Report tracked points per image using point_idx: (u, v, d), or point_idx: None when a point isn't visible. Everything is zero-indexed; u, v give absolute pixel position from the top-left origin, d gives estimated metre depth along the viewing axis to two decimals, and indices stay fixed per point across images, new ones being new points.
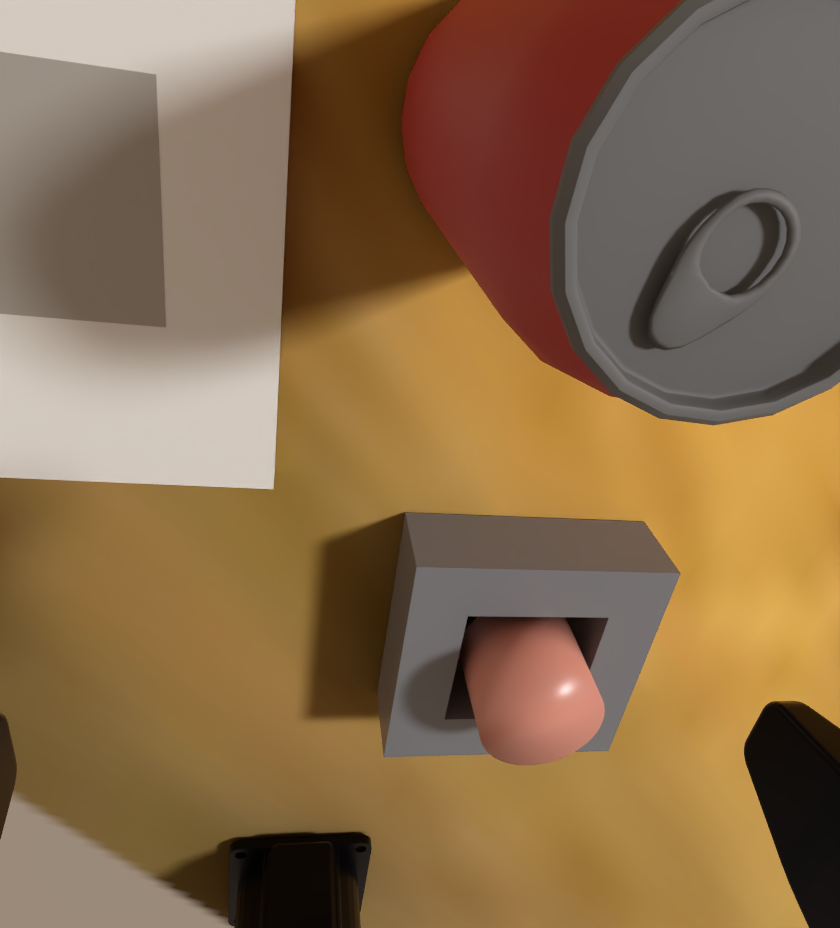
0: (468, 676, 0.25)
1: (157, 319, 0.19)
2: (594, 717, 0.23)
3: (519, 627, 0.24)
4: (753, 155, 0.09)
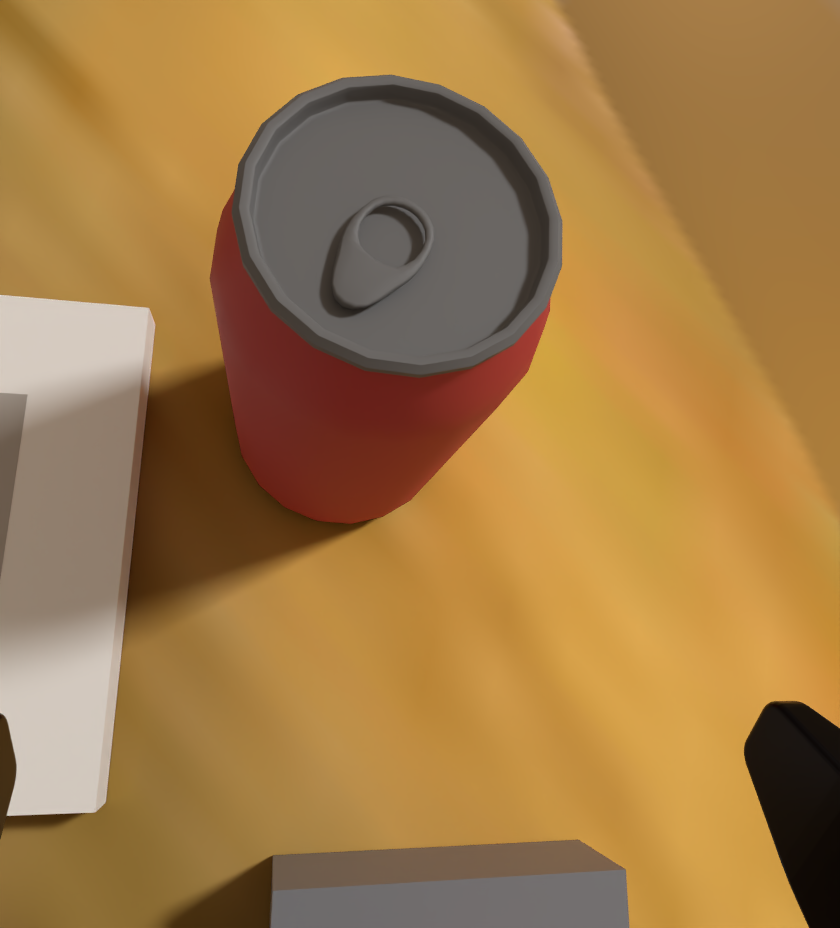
0: None
1: None
2: None
3: None
4: (380, 185, 0.12)
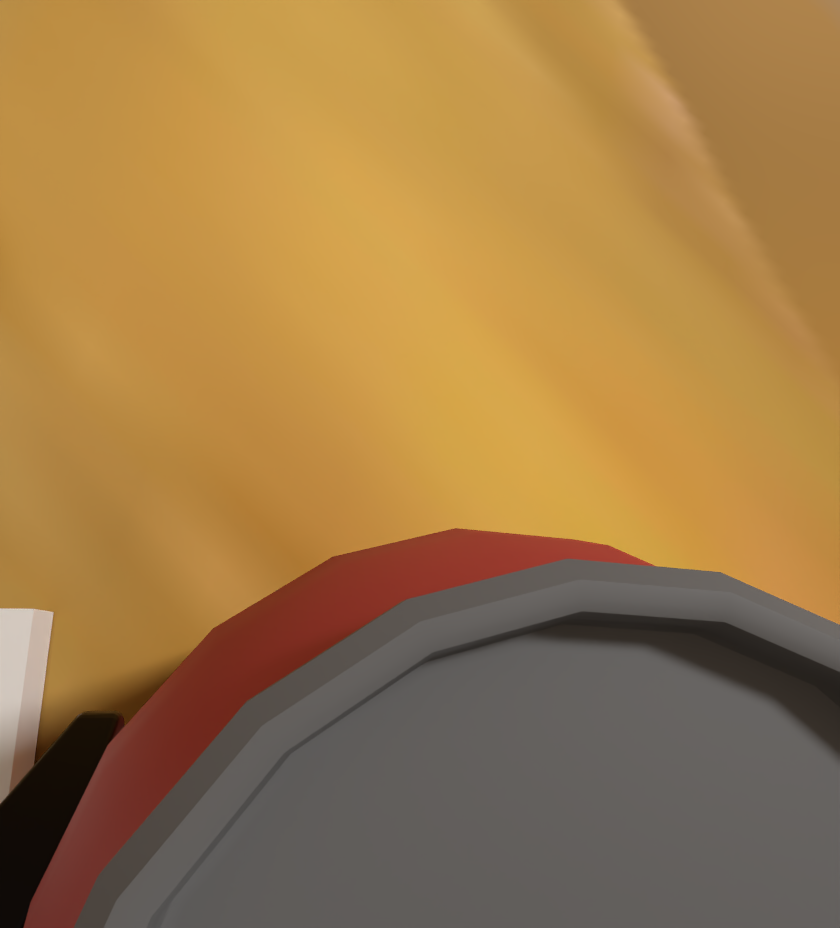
0: None
1: None
2: None
3: None
4: None
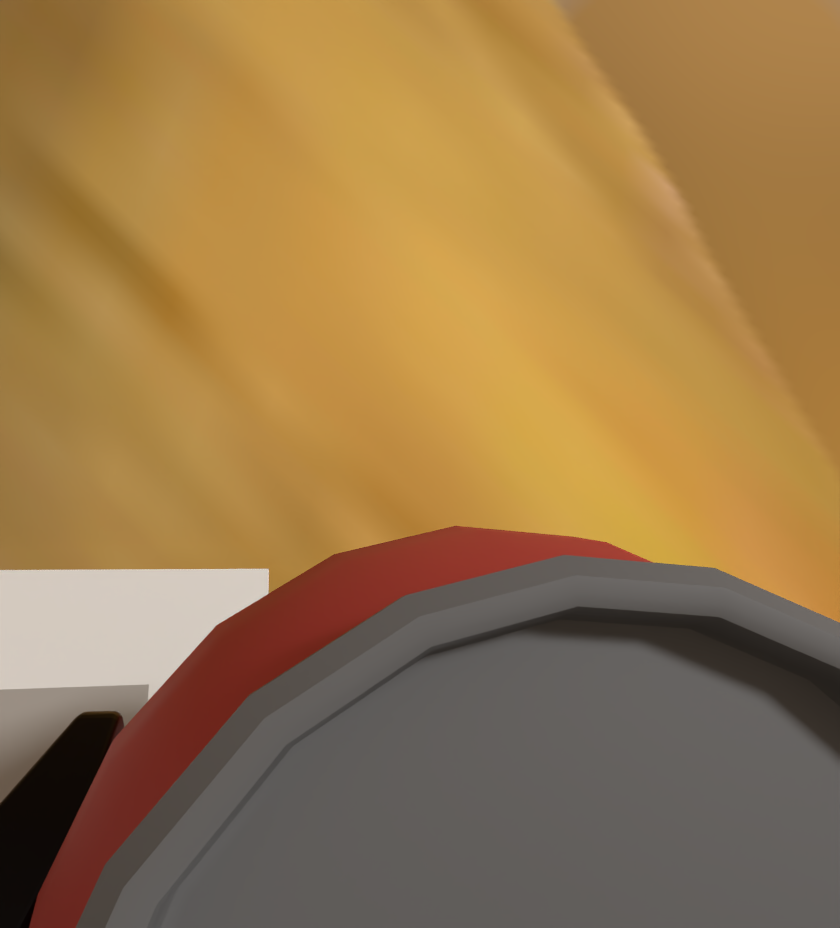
0: None
1: None
2: None
3: None
4: None
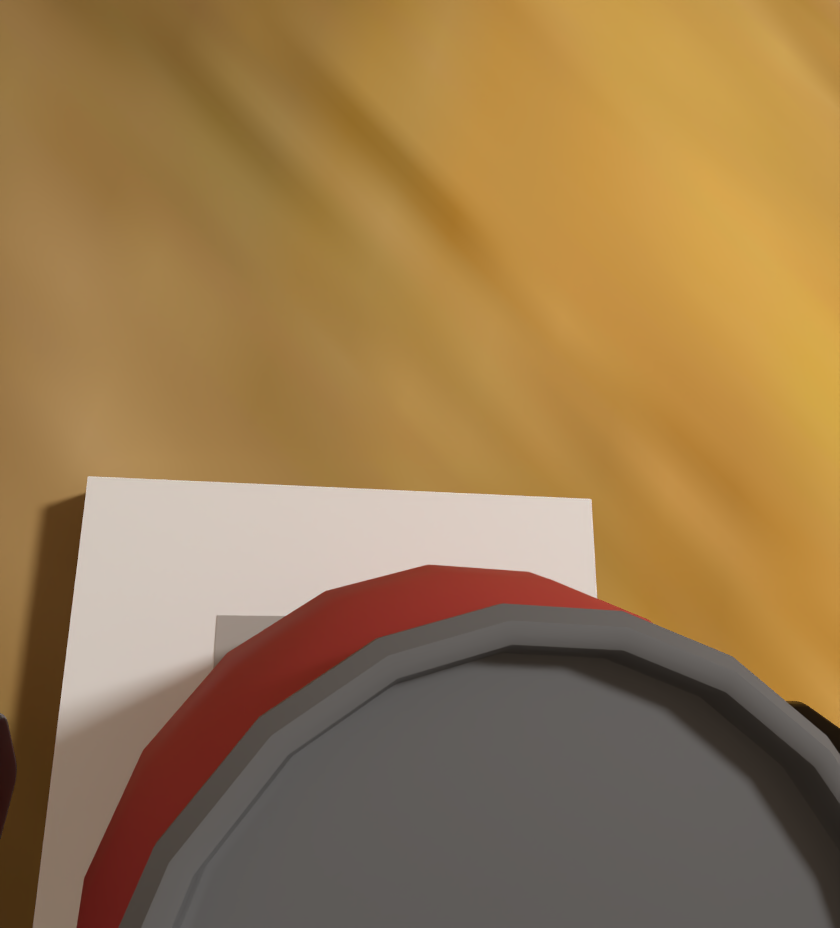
0: None
1: None
2: None
3: None
4: None
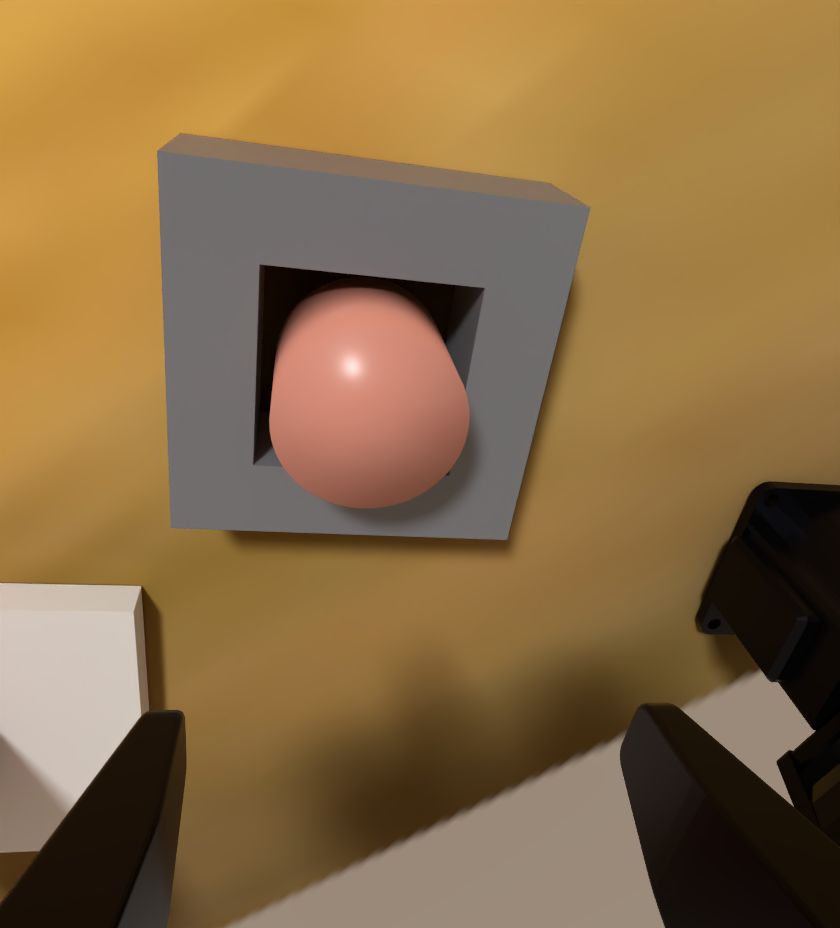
0: None
1: None
2: (369, 345, 0.14)
3: None
4: None
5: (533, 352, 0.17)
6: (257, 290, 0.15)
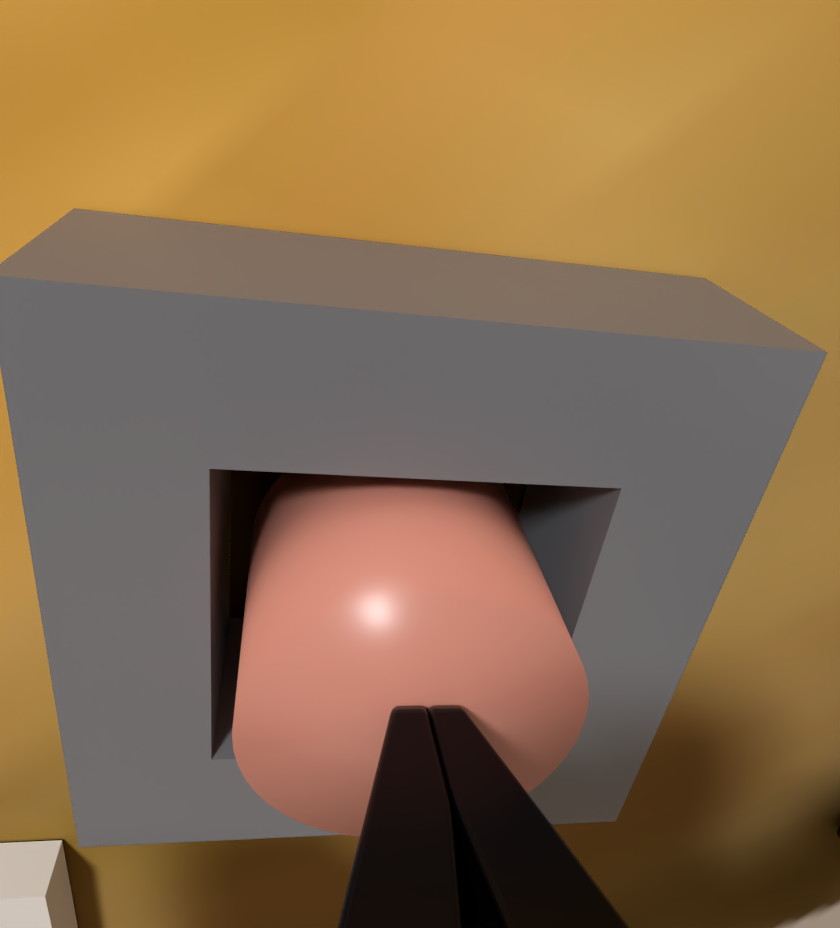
0: None
1: None
2: (417, 616, 0.07)
3: None
4: None
5: (691, 579, 0.10)
6: (207, 510, 0.08)
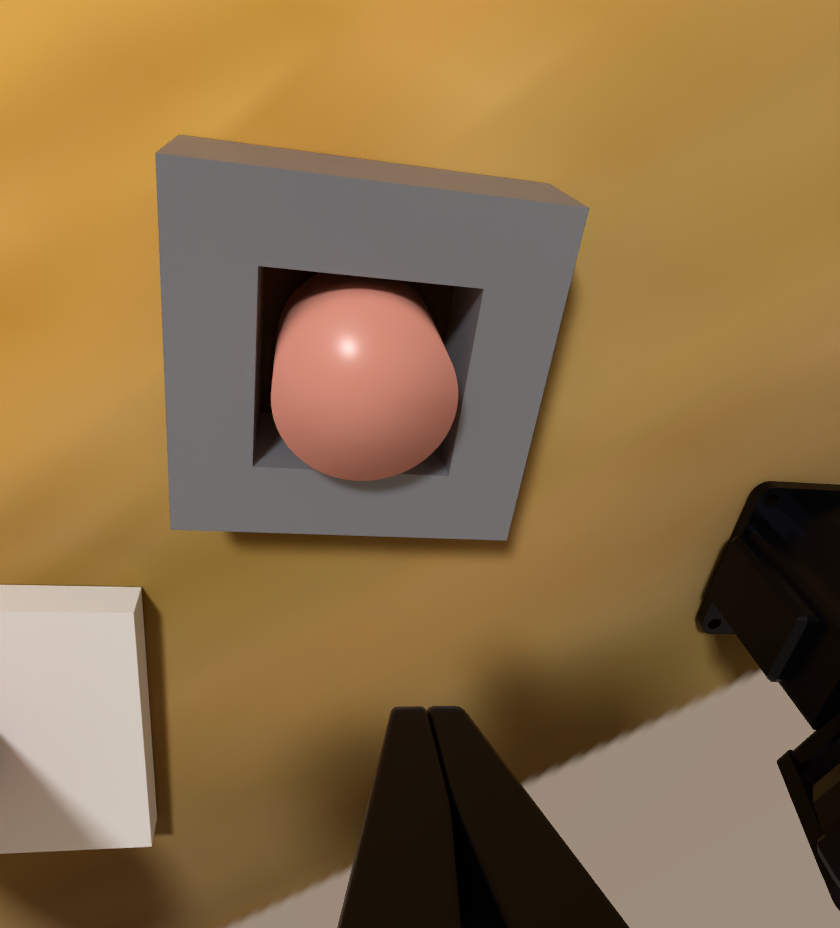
0: None
1: None
2: (364, 325, 0.15)
3: None
4: None
5: (532, 353, 0.17)
6: (256, 292, 0.15)
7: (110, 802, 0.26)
